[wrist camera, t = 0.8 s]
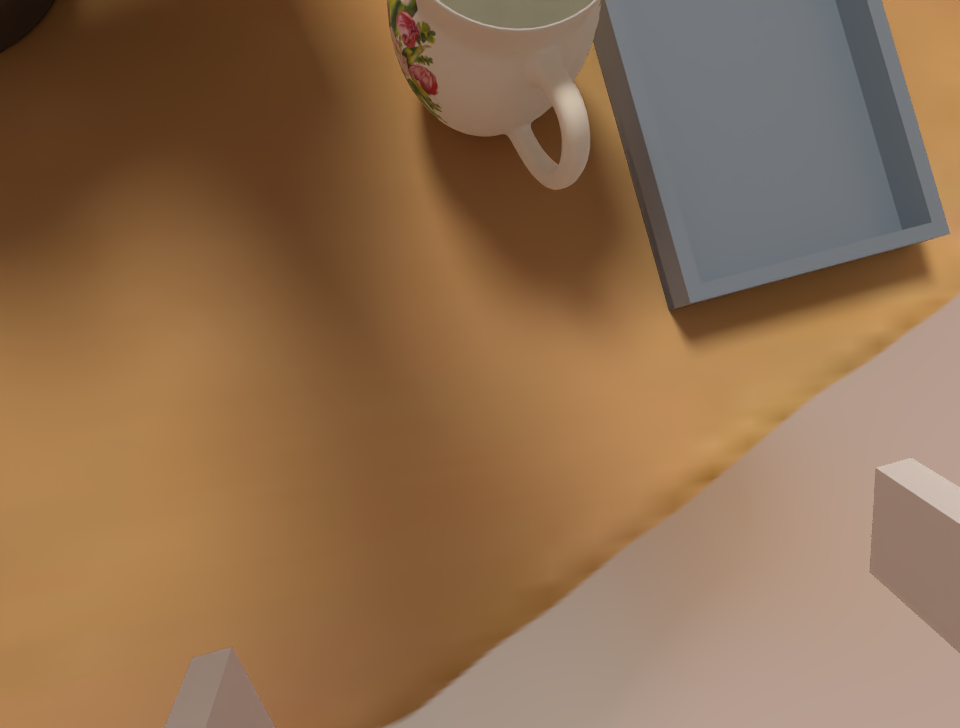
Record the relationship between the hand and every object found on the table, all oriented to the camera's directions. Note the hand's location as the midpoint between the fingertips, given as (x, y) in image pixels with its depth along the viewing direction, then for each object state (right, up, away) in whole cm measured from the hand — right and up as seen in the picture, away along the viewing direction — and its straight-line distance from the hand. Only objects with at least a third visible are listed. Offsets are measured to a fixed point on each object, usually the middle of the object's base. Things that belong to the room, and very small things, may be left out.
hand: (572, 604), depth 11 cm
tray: (+16, +23, +27) cm, 39 cm away
